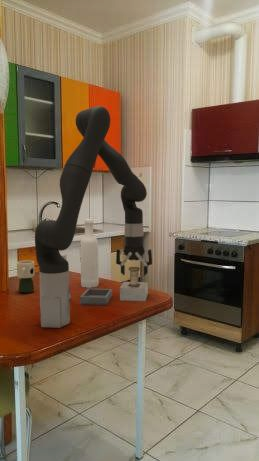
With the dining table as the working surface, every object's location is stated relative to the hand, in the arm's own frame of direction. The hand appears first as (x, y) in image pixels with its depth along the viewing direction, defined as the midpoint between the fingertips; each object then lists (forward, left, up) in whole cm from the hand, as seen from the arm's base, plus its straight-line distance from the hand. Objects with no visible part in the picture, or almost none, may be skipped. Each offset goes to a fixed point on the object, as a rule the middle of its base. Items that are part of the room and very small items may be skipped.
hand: (134, 274), depth 149 cm
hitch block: (0, 0, -9) cm, 9 cm away
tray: (-6, +14, -9) cm, 18 cm away
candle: (+10, +34, -9) cm, 37 cm away
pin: (0, 0, -9) cm, 9 cm away
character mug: (+2, +46, -9) cm, 47 cm away
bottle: (+16, +22, -9) cm, 29 cm away
